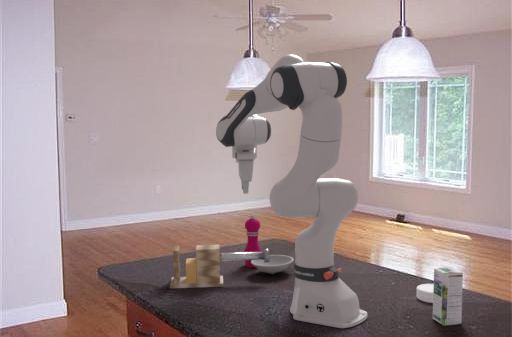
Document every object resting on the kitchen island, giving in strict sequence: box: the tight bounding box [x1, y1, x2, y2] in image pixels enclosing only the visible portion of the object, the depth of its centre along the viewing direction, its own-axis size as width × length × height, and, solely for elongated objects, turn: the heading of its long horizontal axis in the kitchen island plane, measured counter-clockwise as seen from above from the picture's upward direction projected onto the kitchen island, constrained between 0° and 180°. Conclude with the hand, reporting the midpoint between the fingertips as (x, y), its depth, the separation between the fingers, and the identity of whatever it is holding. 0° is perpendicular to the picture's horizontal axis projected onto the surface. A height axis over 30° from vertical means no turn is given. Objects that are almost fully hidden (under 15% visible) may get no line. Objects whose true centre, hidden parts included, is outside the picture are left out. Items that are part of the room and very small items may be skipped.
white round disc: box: [415, 283, 434, 304], centre depth 168 cm, size 10×10×4 cm
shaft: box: [220, 248, 270, 263], centre depth 188 cm, size 25×5×5 cm, turn 94°
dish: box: [251, 254, 295, 275], centre depth 198 cm, size 18×14×5 cm
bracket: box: [169, 244, 224, 289], centre depth 187 cm, size 18×10×13 cm, turn 94°
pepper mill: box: [243, 214, 263, 268], centre depth 209 cm, size 7×7×20 cm
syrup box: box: [432, 266, 464, 327], centre depth 148 cm, size 6×6×14 cm
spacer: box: [185, 257, 197, 284], centre depth 187 cm, size 4×7×7 cm, turn 4°
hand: (245, 191), depth 193 cm, fingers open, 8 cm apart
